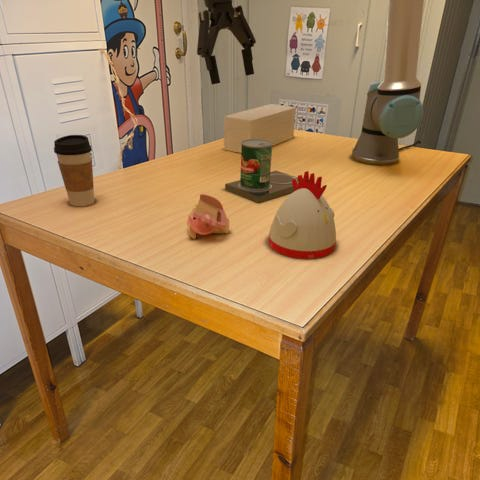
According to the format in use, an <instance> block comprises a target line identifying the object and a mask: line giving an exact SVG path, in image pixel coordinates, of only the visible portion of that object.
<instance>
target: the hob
mask: <svg viewBox="0 0 480 480" xmlns="http://www.w3.org/2000/svg"><path fill="white" fill-rule="evenodd" d="M292 179H296V181H297V184H298V176H295V175H291V174H288V173H285V172H282V171H279V170H272V171H270V183H269V185H270V186H269V188H267V189H264V190H247V189H244V188H242V187H241V186H240V179H239V180H235V181H230V182H228V183H225V184H224V190H225V191H228V192H230V193H233V194H235V195H237V196H240V197H242V198H245V199H247V200H250V201H252V202H255V203H257V204H258V203H259V204H260V203H263V202H266V201H269V200H273V199H276V198H279V197H282V196H286V195H288V194H291V193H293V192H294V188H293V184H292Z"/></svg>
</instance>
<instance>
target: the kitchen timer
mask: <svg viewBox="0 0 480 480" xmlns="http://www.w3.org/2000/svg"><path fill="white" fill-rule="evenodd" d="M297 177H298V184H297V181H296V179H292V184H293V188H294V192H292V193H289V195H287V196H286V198H285V199H284V200H283V201H282V203H280V206H279V207H278V209H277V210H276V213H275V215H274V218H273V219H272V223H271V225H270V227H269V232H268V245H269V247H270V248H271V249H272V250H273V251H274V252H276V253H278V254H280V255H283V256H285V257H289V258H290V257H291V258H295V259H303V260H304V259H305V260H310V259H319V258H324V257H326V256H328V255H331V254H332V253H333V252H334V250H335V246H336V241H337V230H336V223H335V219H334V218H335V211H334V209H333V208H332V207H330V205H329V203H328V201H327V199H326V198H325V196H323V194H324V193H325V191H326V189H327V186H328V184H324V185H322V180H323V177H322V175H321V176H318V177H317V178H315V172H312V173H309V170H306V171H304V173H303V175H302V174H298V175H297Z"/></svg>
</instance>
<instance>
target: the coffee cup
mask: <svg viewBox="0 0 480 480" xmlns="http://www.w3.org/2000/svg"><path fill="white" fill-rule="evenodd" d="M53 144H54V145H53V146H54V147H53V153H54V154H56V157H57V165H58V167H59V171H60V175H61V178H62V181H63V184H64V188H65V191H66V194H67V198H68V201H69V202H68V203H69V204H70V205H71V206H73V207H86V206H90V205H92V204H94V203H95V190H94V189H95V188H94V172H93V171H94V170H93V159H92V156H91V155H92V154H91V153H92V151H93V148H92V145H91V143H90V140H89V137H88V136H86V135H83V134H68V135H64V136H61V137H59V138H57V139H55V140H54V142H53Z"/></svg>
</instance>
